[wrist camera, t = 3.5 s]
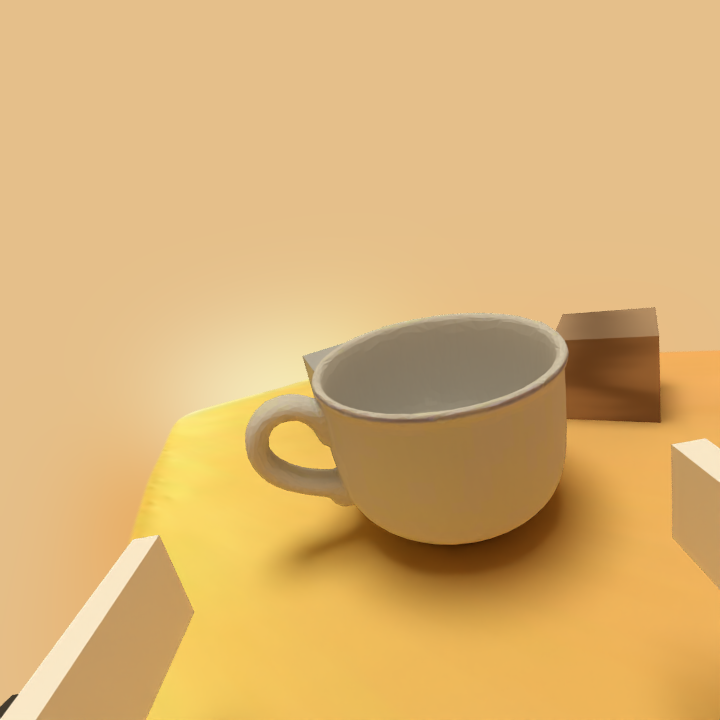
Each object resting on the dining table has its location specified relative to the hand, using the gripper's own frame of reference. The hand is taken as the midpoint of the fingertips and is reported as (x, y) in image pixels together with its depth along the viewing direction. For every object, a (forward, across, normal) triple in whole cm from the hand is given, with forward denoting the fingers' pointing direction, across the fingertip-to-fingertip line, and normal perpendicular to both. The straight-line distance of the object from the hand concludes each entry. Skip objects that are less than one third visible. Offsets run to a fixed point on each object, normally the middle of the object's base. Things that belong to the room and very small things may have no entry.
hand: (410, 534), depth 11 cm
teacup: (+9, 0, -6) cm, 11 cm away
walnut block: (+16, +12, -6) cm, 21 cm away
